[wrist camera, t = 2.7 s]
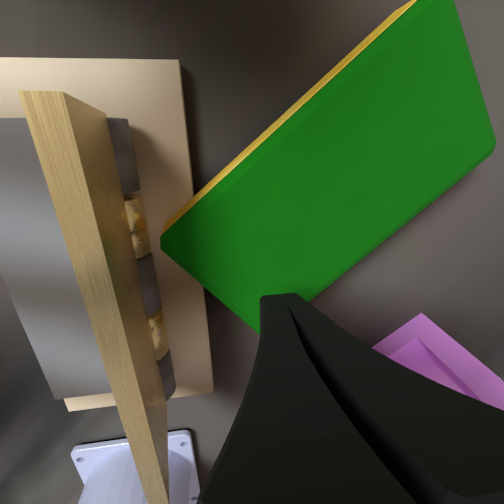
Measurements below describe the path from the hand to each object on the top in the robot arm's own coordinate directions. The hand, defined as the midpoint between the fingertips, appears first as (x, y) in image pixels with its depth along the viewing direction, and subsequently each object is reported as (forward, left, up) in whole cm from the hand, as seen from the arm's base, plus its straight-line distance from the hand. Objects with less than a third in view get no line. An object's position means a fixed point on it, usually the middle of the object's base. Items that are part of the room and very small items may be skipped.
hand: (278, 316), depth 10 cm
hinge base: (0, +7, -6) cm, 9 cm away
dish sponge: (+4, -3, -5) cm, 7 cm away
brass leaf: (0, +7, -1) cm, 7 cm away
